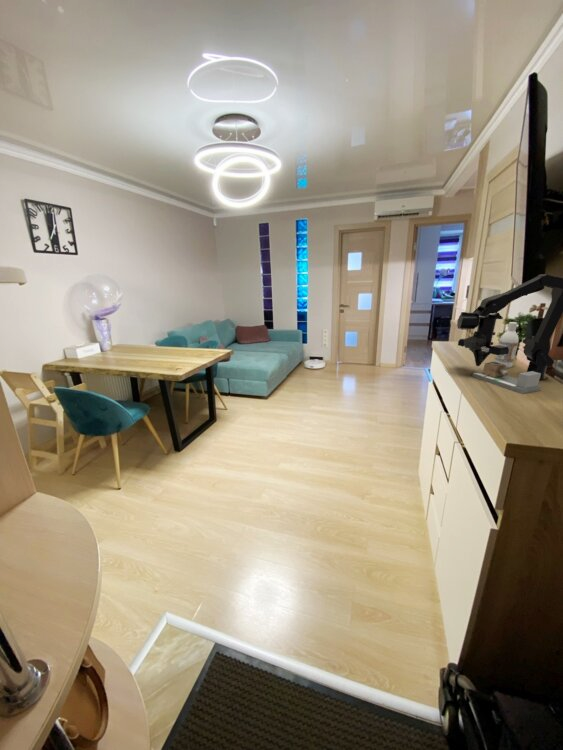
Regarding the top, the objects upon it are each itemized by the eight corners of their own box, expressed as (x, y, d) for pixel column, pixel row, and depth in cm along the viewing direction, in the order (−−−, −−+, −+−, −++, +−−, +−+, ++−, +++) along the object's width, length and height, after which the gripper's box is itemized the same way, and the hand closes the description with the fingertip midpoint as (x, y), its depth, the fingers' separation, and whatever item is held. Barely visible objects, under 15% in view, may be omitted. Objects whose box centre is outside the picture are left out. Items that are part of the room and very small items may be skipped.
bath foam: (508, 368, 138) (519, 324, 132) (491, 365, 144) (501, 322, 137) (514, 366, 142) (525, 322, 135) (498, 362, 147) (508, 320, 141)
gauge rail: (489, 373, 132) (492, 359, 130) (540, 390, 114) (545, 373, 112) (472, 376, 128) (475, 361, 126) (522, 393, 111) (526, 376, 109)
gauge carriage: (491, 372, 128) (494, 360, 126) (510, 377, 121) (513, 365, 120) (479, 374, 126) (482, 362, 124) (497, 380, 119) (500, 367, 118)
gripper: (451, 327, 131) (445, 362, 136) (493, 335, 115) (484, 374, 120) (470, 325, 135) (463, 359, 140) (514, 333, 118) (504, 371, 124)
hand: (477, 365), depth 131 cm, fingers closed
